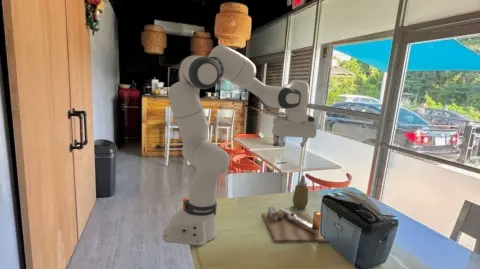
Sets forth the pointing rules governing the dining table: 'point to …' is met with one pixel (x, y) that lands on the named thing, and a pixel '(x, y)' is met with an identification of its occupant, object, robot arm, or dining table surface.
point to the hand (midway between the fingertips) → (292, 146)
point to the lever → (310, 227)
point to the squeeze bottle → (301, 194)
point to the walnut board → (289, 228)
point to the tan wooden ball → (280, 214)
